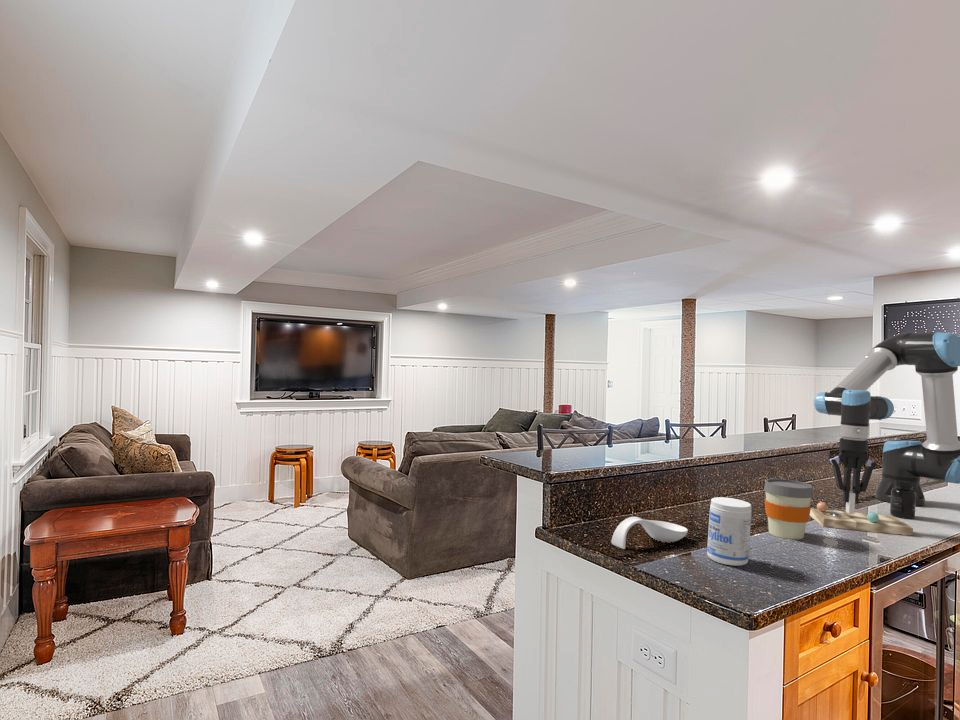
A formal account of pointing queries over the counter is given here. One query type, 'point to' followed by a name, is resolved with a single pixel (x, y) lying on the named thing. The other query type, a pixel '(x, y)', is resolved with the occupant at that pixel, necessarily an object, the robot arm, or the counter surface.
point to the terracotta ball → (822, 506)
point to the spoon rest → (649, 531)
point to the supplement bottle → (903, 500)
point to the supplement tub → (729, 531)
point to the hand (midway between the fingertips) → (849, 512)
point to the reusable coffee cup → (787, 507)
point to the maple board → (861, 522)
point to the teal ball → (872, 517)
